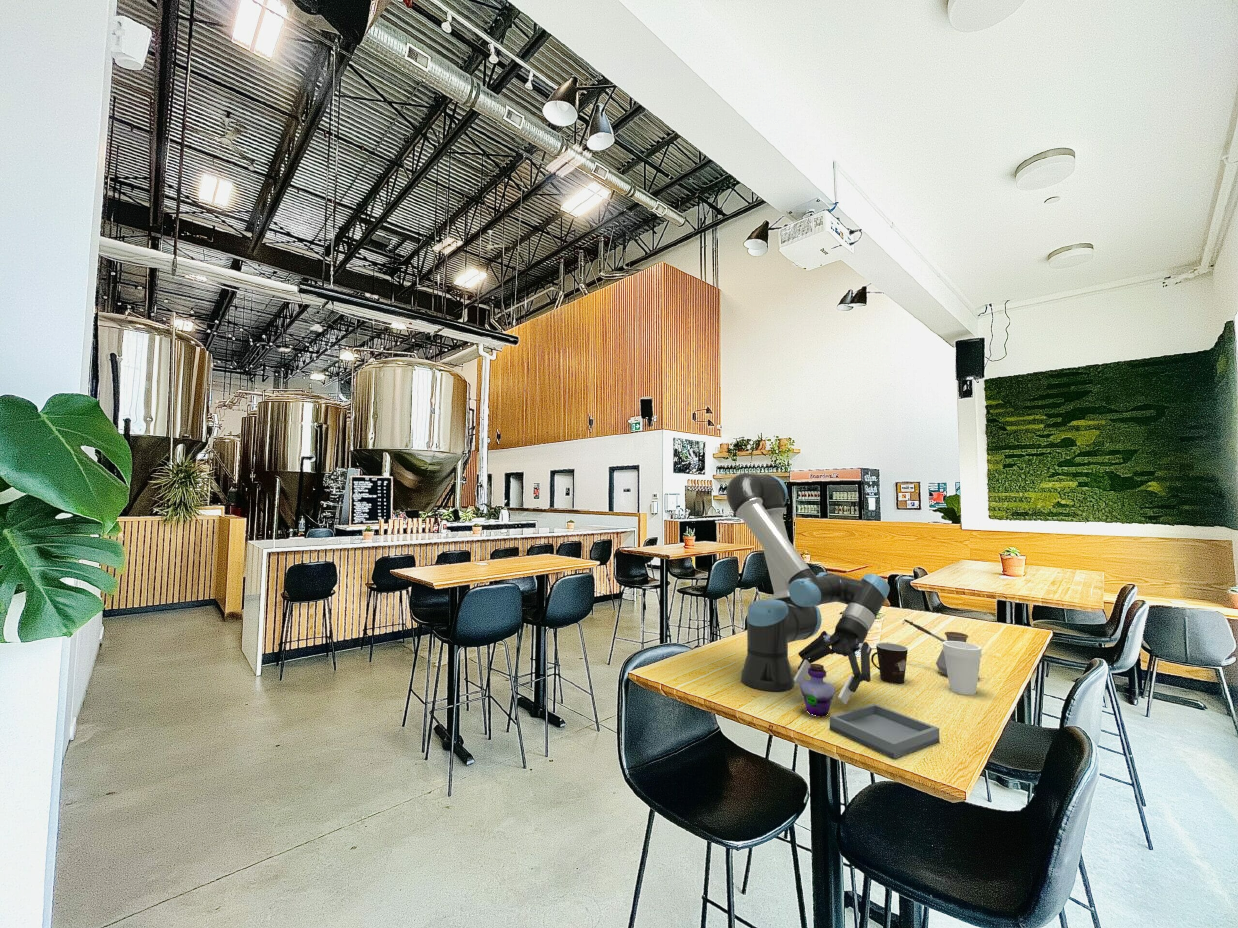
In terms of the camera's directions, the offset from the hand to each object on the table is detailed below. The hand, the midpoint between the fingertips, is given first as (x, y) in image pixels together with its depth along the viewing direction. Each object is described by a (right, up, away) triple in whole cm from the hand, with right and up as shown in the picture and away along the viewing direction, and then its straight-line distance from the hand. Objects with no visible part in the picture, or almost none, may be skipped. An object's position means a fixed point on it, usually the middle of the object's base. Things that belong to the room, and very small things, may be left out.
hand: (818, 691), depth 132 cm
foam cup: (+49, -8, +18) cm, 53 cm away
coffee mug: (+31, -8, +27) cm, 42 cm away
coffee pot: (+53, -9, +35) cm, 64 cm away
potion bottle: (0, -6, +1) cm, 6 cm away
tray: (+11, -5, -12) cm, 17 cm away
